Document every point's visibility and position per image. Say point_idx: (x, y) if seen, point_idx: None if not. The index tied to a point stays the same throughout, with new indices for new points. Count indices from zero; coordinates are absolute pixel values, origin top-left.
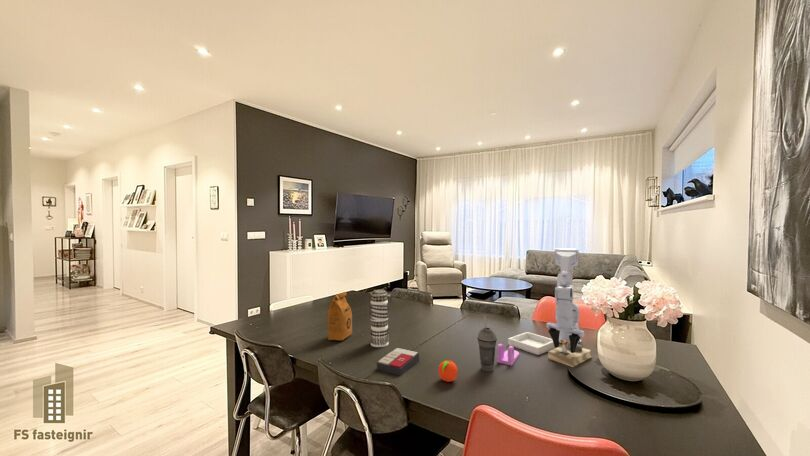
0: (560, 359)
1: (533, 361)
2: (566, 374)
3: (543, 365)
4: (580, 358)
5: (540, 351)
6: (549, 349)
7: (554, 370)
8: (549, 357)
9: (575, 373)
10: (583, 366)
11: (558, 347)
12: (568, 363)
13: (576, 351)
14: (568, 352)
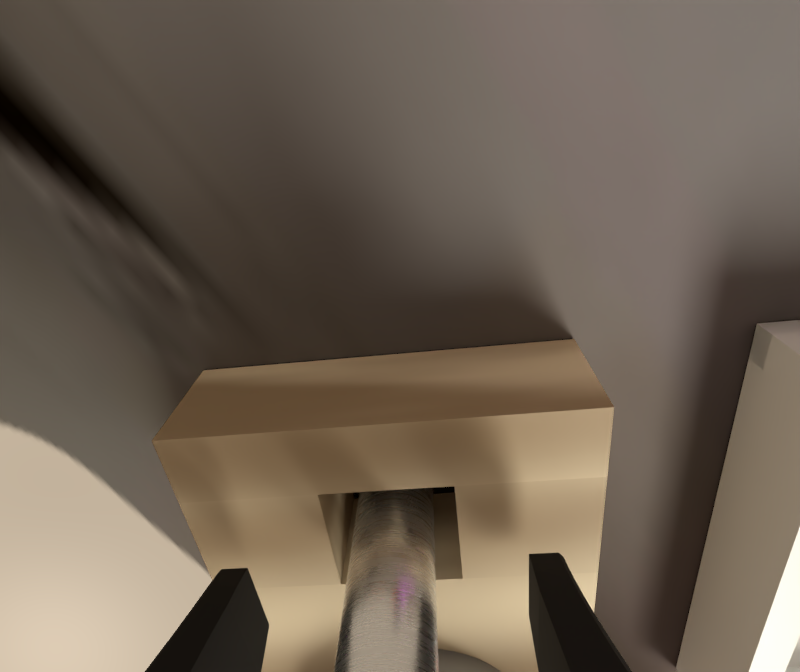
0: (373, 384)
1: (705, 3)
2: (20, 57)
3: (469, 18)
4: None
5: (770, 408)
6: (707, 569)
7: (218, 7)
8: (559, 353)
9: (24, 225)
10: None
11: None
12: (252, 382)
13: None
14: None
